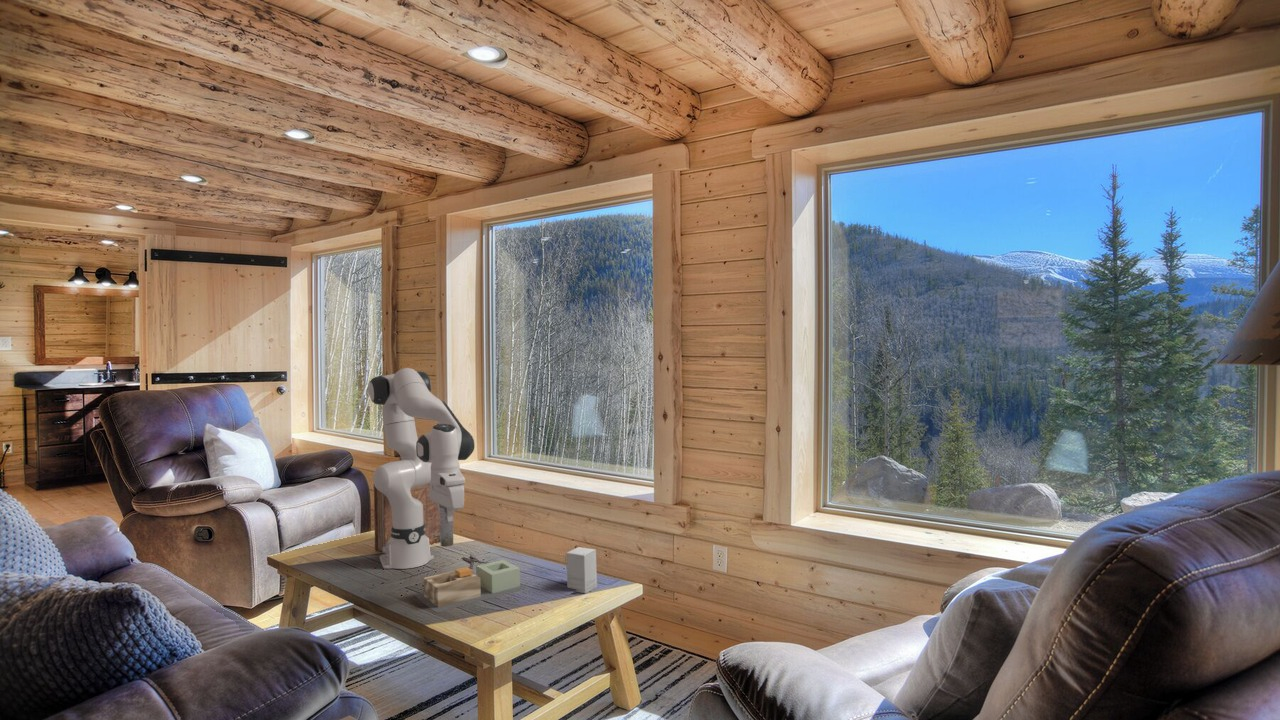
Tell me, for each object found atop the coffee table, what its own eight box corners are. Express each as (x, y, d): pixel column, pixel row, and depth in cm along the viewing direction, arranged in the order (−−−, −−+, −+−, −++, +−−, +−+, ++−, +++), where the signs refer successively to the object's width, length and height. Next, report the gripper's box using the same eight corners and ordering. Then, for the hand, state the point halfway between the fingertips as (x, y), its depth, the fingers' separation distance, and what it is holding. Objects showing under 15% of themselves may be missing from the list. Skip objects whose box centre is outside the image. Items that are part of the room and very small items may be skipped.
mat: (414, 597, 219) (413, 594, 219) (501, 576, 238) (501, 573, 238) (436, 615, 204) (436, 612, 204) (528, 591, 223) (527, 588, 223)
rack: (476, 583, 228) (476, 565, 228) (503, 576, 234) (503, 559, 234) (492, 593, 219) (491, 574, 219) (520, 586, 225) (519, 568, 225)
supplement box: (597, 586, 226) (597, 549, 225) (584, 594, 219) (584, 555, 219) (579, 583, 229) (578, 546, 229) (566, 590, 223) (565, 552, 223)
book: (385, 555, 264) (383, 479, 264) (374, 550, 271) (372, 476, 270) (444, 541, 282) (442, 469, 282) (433, 537, 289) (431, 467, 288)
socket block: (423, 596, 217) (423, 577, 217) (465, 586, 226) (464, 568, 226) (438, 607, 208) (437, 588, 208) (480, 596, 216) (480, 577, 216)
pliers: (478, 572, 241) (447, 561, 254) (478, 575, 241) (447, 563, 254) (501, 565, 248) (470, 555, 261) (501, 568, 248) (470, 557, 261)
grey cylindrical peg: (438, 544, 216) (437, 507, 216) (450, 542, 218) (449, 504, 218) (443, 547, 213) (442, 509, 212) (455, 544, 215) (454, 507, 215)
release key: (455, 586, 219) (455, 569, 219) (467, 583, 222) (466, 566, 222) (460, 589, 216) (460, 572, 216) (472, 586, 219) (472, 569, 219)
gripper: (423, 472, 221) (424, 514, 222) (447, 482, 205) (448, 527, 205) (442, 470, 225) (443, 511, 226) (467, 479, 209) (468, 523, 209)
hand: (446, 519), depth 215 cm, fingers closed on grey cylindrical peg, 4 cm apart
